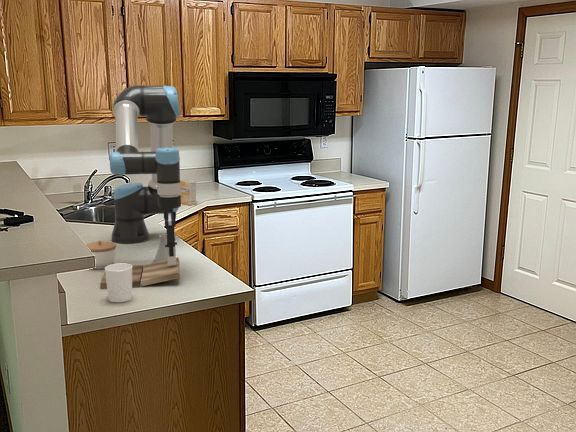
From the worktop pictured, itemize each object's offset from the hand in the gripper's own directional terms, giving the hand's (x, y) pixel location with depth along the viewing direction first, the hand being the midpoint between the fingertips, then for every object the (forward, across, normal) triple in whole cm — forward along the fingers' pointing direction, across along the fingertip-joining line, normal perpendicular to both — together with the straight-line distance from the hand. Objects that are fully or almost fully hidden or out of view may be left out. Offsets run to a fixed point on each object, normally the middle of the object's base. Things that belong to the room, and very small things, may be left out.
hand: (172, 264), depth 196 cm
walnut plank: (+4, 0, -16) cm, 17 cm away
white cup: (+5, +19, -15) cm, 25 cm away
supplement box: (+3, -130, +7) cm, 130 cm away
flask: (+4, -19, -3) cm, 20 cm away
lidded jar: (+4, -16, -25) cm, 30 cm away
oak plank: (+3, 0, -4) cm, 5 cm away
